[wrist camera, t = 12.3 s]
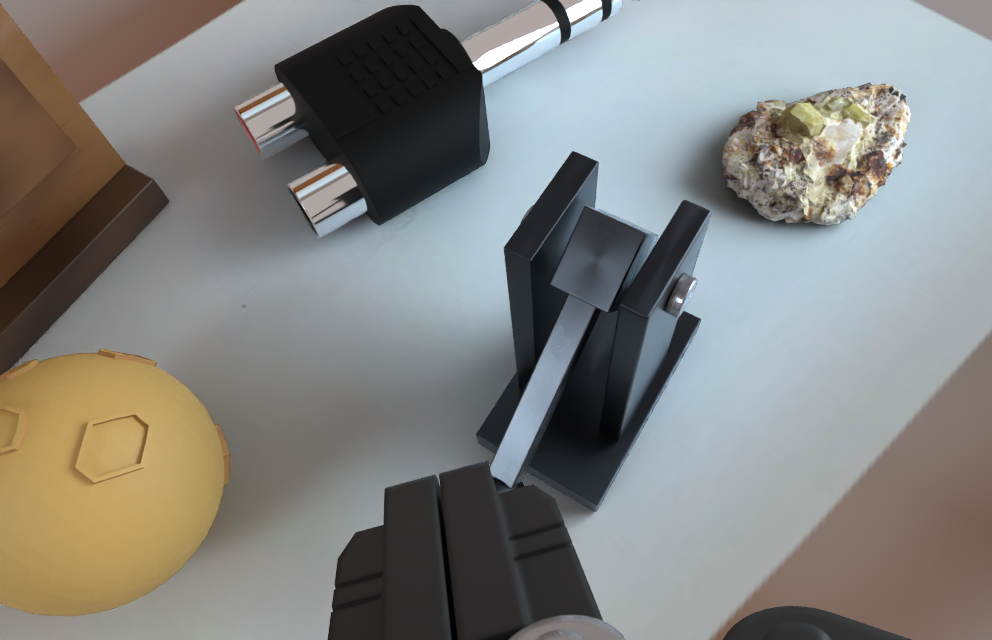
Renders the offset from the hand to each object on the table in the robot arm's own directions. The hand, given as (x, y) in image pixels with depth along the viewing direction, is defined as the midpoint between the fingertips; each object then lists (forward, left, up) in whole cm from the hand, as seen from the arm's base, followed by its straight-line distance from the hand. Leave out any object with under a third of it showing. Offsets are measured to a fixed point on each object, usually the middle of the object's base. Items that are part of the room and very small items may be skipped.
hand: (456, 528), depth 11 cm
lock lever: (+8, +3, -15) cm, 17 cm away
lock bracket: (+11, +3, -22) cm, 25 cm away
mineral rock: (+28, -1, -22) cm, 36 cm away
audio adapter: (+24, +17, -22) cm, 36 cm away
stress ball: (-4, +17, -22) cm, 28 cm away
